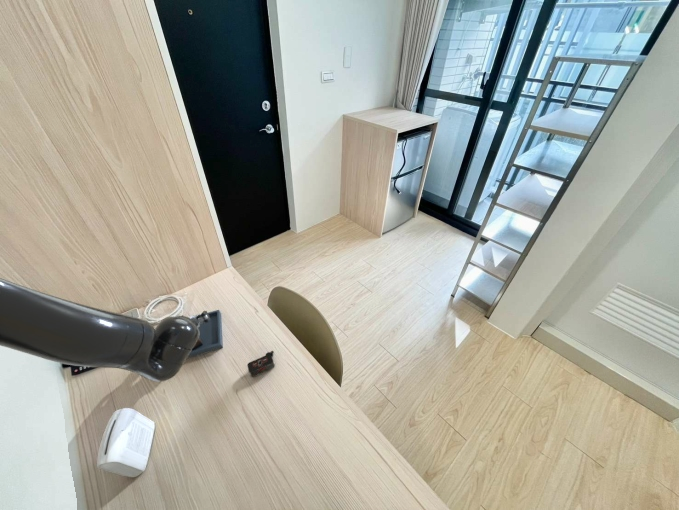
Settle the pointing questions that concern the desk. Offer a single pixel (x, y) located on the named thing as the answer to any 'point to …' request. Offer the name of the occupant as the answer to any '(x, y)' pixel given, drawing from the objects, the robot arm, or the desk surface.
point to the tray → (210, 335)
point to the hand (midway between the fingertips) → (182, 326)
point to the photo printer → (126, 443)
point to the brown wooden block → (197, 343)
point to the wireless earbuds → (261, 364)
